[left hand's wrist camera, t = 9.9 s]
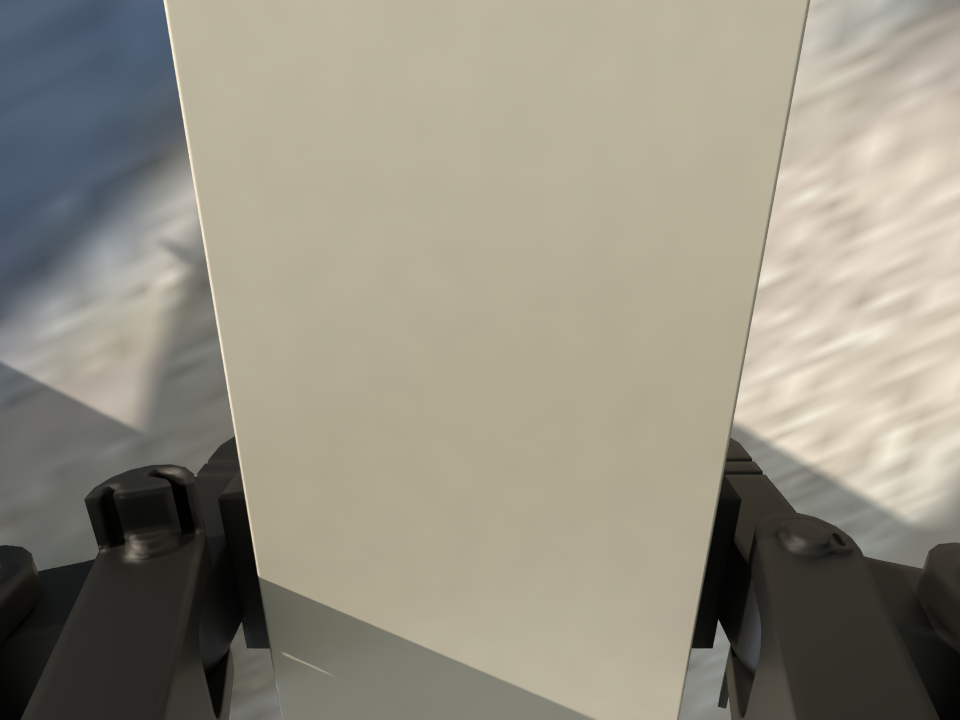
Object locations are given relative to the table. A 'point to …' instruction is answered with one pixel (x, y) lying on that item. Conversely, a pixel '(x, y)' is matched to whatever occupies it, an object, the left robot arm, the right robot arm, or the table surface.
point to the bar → (483, 331)
